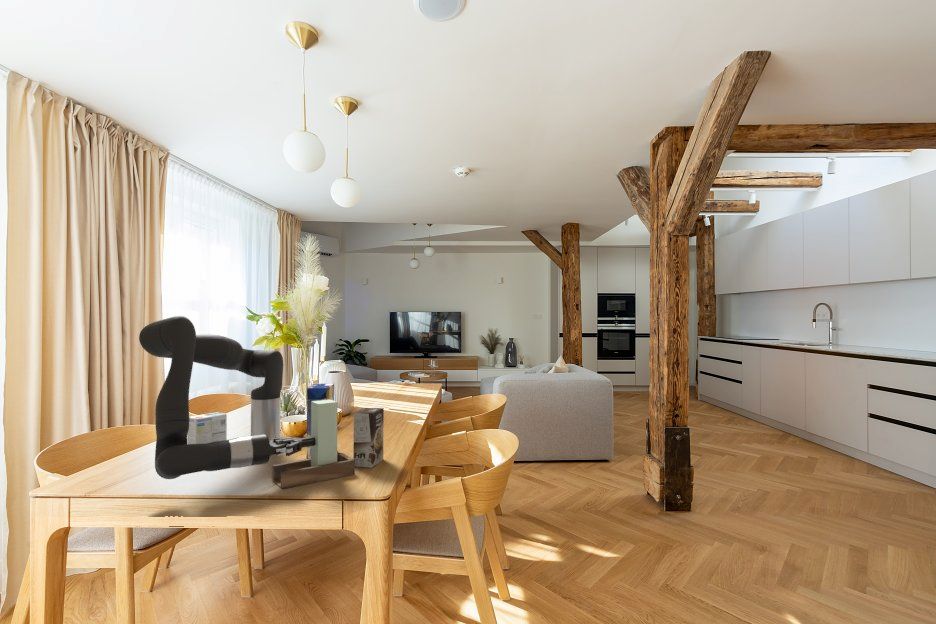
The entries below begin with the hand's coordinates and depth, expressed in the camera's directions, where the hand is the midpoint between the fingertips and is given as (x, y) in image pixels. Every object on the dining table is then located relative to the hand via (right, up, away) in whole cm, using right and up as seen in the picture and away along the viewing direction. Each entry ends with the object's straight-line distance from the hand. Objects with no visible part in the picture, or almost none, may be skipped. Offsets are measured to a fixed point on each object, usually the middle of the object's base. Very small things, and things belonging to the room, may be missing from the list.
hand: (314, 440), depth 136 cm
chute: (0, -10, 0) cm, 10 cm away
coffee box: (+13, -10, +13) cm, 21 cm away
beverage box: (-5, -10, +23) cm, 26 cm away
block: (+2, -10, +1) cm, 10 cm away
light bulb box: (-47, -11, +32) cm, 58 cm away
